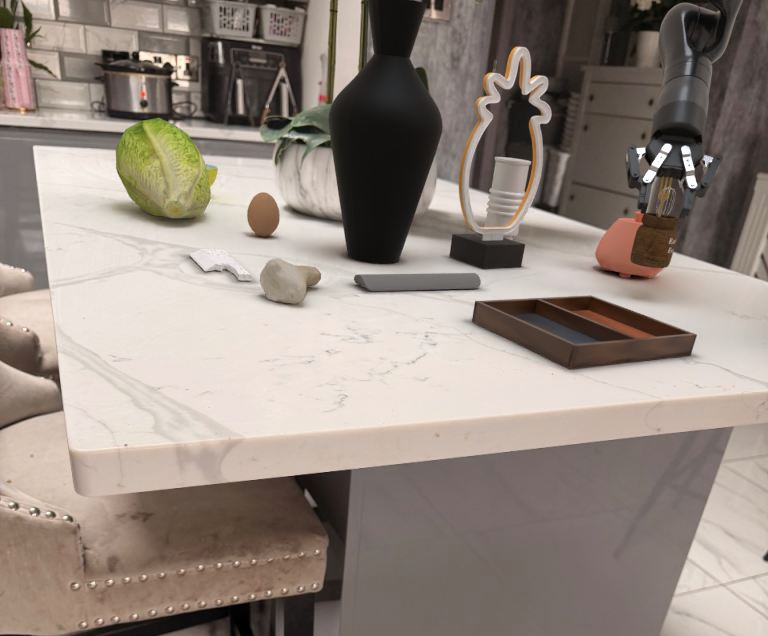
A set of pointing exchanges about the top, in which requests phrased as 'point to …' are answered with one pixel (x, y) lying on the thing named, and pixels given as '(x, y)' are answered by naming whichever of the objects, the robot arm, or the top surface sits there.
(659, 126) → the robot arm
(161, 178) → the lettuce
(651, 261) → the utensil holder
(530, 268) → the top surface
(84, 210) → the top surface
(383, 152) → the vase
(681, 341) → the sorting tray
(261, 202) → the egg
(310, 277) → the stone
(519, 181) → the white ribbed cup
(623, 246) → the pink rounded pot
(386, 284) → the half round rod
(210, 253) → the white flat piece
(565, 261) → the top surface
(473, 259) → the lamp
